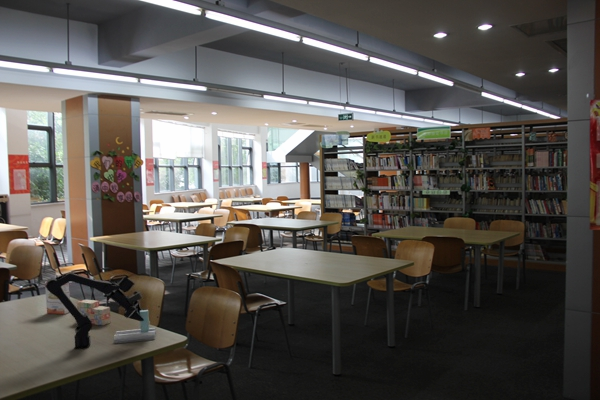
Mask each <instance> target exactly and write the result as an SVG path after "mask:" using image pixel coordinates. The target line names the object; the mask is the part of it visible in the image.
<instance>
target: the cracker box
mask: <svg viewBox="0 0 600 400" xmlns="http://www.w3.org/2000/svg"><path fill="white" fill-rule="evenodd" d="M46 282H47V280H46V281H45V282H44V287H45V301H46V302H45V304H46V313H47V314H54V315H56V314H57V315H66V314H70V312H69V311H68V310H67V309H66V307H65V306H64V305H63V304H62V302H61V301H60V300H59V299H58V298H57V297H56V296H55V295H53V294H52V293H51V292H49V291H48V290H47V288H46ZM61 287H62V289H63V291H64V293H65V294H66V295H67V296H68V298H69V299H70V300H71V294H70V282H68V283H66V284H65V285H63V286H61Z"/></svg>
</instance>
